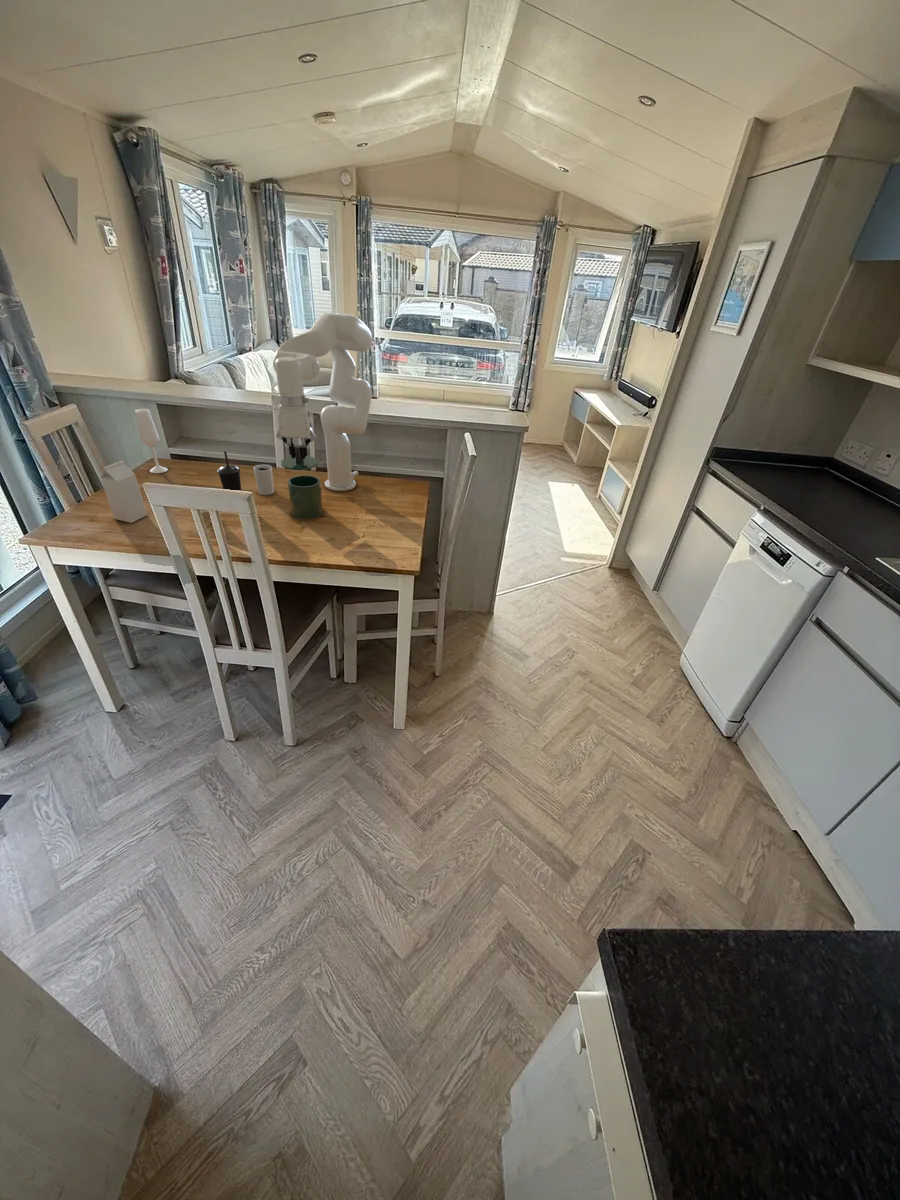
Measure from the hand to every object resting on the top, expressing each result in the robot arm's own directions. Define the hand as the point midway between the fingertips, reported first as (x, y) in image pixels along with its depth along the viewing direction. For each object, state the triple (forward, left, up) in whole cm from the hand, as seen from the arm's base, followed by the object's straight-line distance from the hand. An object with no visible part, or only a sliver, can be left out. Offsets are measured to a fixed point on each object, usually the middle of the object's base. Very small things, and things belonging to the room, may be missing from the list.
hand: (298, 457), depth 169 cm
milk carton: (+36, -46, -22) cm, 63 cm away
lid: (0, 0, -2) cm, 2 cm away
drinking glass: (-7, -27, -22) cm, 36 cm away
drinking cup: (+8, -27, -22) cm, 36 cm away
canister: (-3, -2, -22) cm, 23 cm away
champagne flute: (+4, -77, -22) cm, 81 cm away
